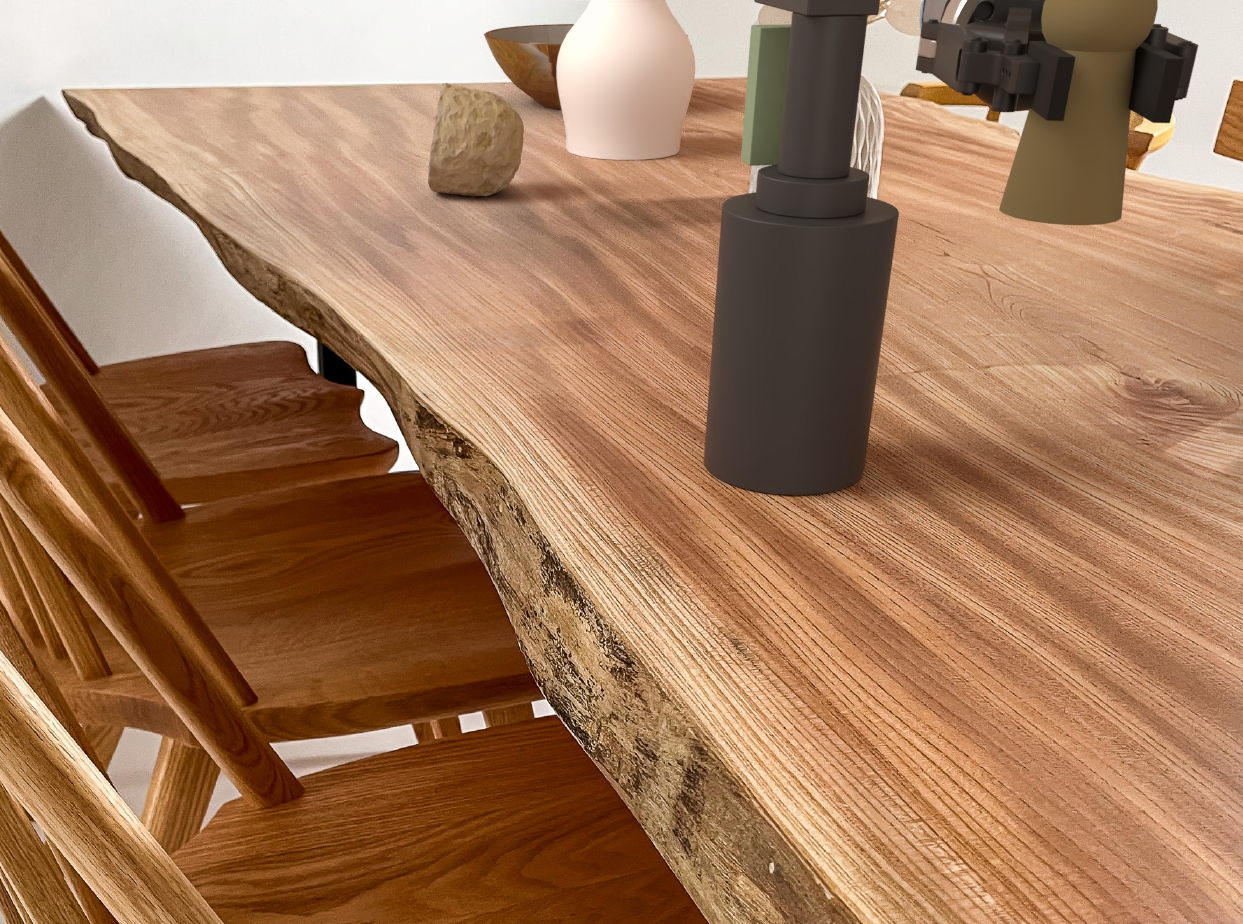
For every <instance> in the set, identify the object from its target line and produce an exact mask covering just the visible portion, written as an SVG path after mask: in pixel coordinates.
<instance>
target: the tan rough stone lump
mask: <svg viewBox="0 0 1243 924" xmlns="http://www.w3.org/2000/svg"><path fill="white" fill-rule="evenodd" d="M434 120H435V123H434V127H433V133H432V138H431V139H432V140H431V145H430V150H429V151H430V152H429V161H428V169H427V170H428V171H427V184H428V186H429V189H430V190H431V191H432V192H434V193H443V194H451V195H458V196H459V195H460V196H468V197H469V196H470V197H488V196H491V195H494V194H496V193H499V192H502V191H504V190H505V189H506V188H507V187H508V186H510V183H511V182H512V180H513V179H515V177H516V173H517V172H518V171H519V168H520V165H521V164H522V153H523V147H524V133H525V126H524V125H525V124H524V121H523V119H522V116H521V115H520V114H519V112H518V111H517V110H515V109H514V108H512V105H511V104H510V102H508V101H506V100H505V99H504V97H502V96H500V95H498V94H496V93H493V92H491V91H487V90H479V89H477V88H468V87H464V86H462V85H457V84H450V83H448V82H445V83H442V87H441V90H439V96H438V100H437V108H436V115H435V117H434Z"/></svg>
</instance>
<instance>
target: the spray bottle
mask: <svg viewBox="0 0 1243 924" xmlns="http://www.w3.org/2000/svg"><path fill="white" fill-rule="evenodd" d="M754 3H757V4H760V5H763V6H768V7H771V8H775V9H779V10H782V11H786V12H791V22H790V24H791V32H790V43H789V54H788V65H787V76H786V87H785V98H784V109H783V120H782V131H781V142H780V153H779V164H776V165H765V166H764V167H763V166H762V167H761V168H760V169H758V171H757V176H756V177H757V178H756V188H755V192H749V193H743V194H738V195H736V196H733V197H730V198H727V199H726V200H725V201H724V202H723V203H722V206H721V216H720V218H721V219H720V231H719V244H718V258H717V272H716V286H715V297H714V311H713V312H714V313H713V326H712V341H711V355H710V368H709V383H708V395H707V410H706V421H705V422H706V424H705V437H704V450H703V464H704V467H705V469H706V471H708V472H709V473H710V474H711V475H712V476H713V477H715V478H716V479H718V480H720V481H722V482H724V483H727V484H729V485H732V486H735V487H737V488H741V489H744V490H747V491H751V492H752V491H753V492H757V493H763V494H764V493H765V494H769V495H779V496H780V495H781V496H812V495H821V494H827V493H832V492H836V491H841V490H843V489H846V488H848V487H851V486H853V485H854V484H856V483H857V482H859V481H860V479H862V477H863V475H864V472H865V468H866V467H865V466H866V460H867V459H866V458H867V452H868V444H869V436H870V429H871V422H872V414H873V408H874V401H875V393H876V387H877V380H878V379H877V378H878V370H879V364H880V356H881V349H882V342H883V334H884V327H885V326H884V325H885V319H886V311H887V304H888V299H889V298H888V297H889V290H890V282H891V275H892V267H893V261H894V253H895V252H894V251H895V245H896V238H897V231H898V225H899V224H898V223H899V216H900V212H899V209H898V208H897V207H896V206H894V205H893V204H891V203H889V202H887V201H884V200H881V199H877V198H874V197H870V196H868V193H869V186H870V185H869V184H870V174H869V173H868V172H867V171H865V170H863V169H860V168H857V167H853V166H851V165H852V156H853V147H854V140H855V139H854V138H855V130H856V121H857V114H858V113H857V112H858V106H859V105H858V104H859V95H860V86H861V78H862V70H863V68H862V67H863V61H864V54H865V44H866V43H865V42H866V35H867V26H868V19H869V18H868V17H869V16H878V15H879V14H880V5H881V0H754Z"/></svg>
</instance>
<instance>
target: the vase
mask: <svg viewBox="0 0 1243 924" xmlns="http://www.w3.org/2000/svg"><path fill="white" fill-rule="evenodd" d="M573 24H574V26H573V27H572V28H571V30H570V31H569V32H568V34H567V35H566V37H565V39H564V41H563V43H562V45H561V48H560V51H559V54H558V60H557V87H558V93H559V99H560V104H561V109H560V110H561V114H562V117H563V122H564V123H563V124H564V131H565V132H564V133H565V150H566V151H567V152H568V153H569V154H572V155H575V156H578V157H583V158H591V159H598V160H614V161H615V160H616V161H642V160H643V161H644V160H653V159H663V158H667V157H671V156H675V155H677V154H678V153H679V152H680V150H681V138H682V133H683V128H684V124H685V119H686V116H687V112H688V109H689V105H690V102H691V98H692V94H693V90H694V83H695V76H696V59H695V53H694V49H693V45H692V44H691V43H692V42H690V39H689V35H688V34H687V32H685V30H684V28H683V27H682V25H681V24H680V23H679V21H678V20H677V18H676V17H675V16H674V14H673V13H672V11H671V9H670V7H669V5H668V4H667V1H666V0H590V1H589V3H588V4H587V7H586V8H585V9H584V11H583V13H582V14H581V15H580V16H579V18H578V19H577V20H576V22H575V23H573ZM687 35H688V36H687Z"/></svg>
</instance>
